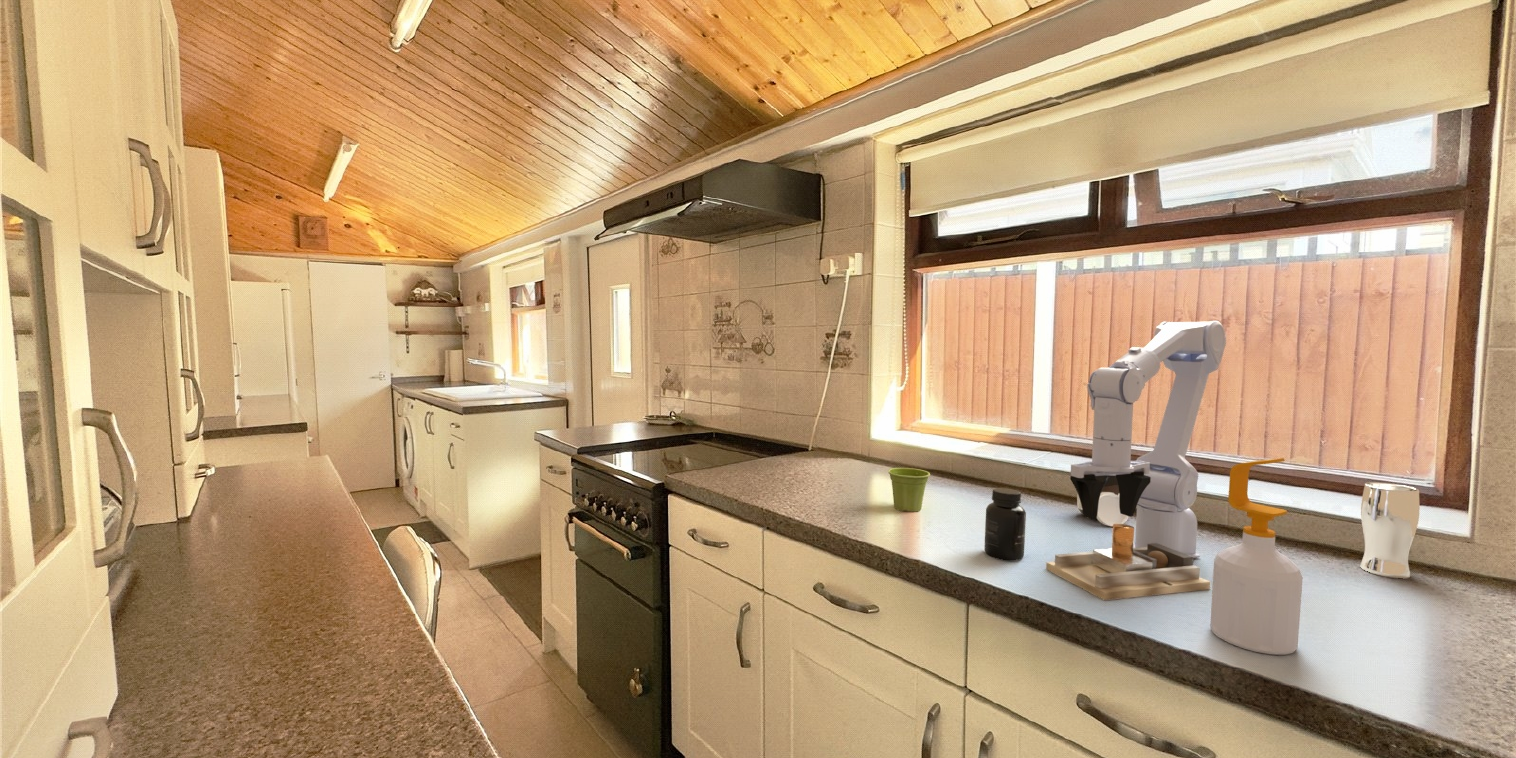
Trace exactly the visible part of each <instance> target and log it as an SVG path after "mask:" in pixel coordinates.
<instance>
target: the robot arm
mask: <svg viewBox="0 0 1516 758" xmlns="http://www.w3.org/2000/svg"><path fill="white" fill-rule="evenodd" d="M1153 335H1154V337H1153V338H1152V339H1151V340H1150V341H1149V342H1148V343H1147V344H1146V345H1145V346H1143V347H1140V346H1139V347H1136V346H1135V347H1134V346H1132V347H1130V348H1129V349H1128V351H1127V352H1126V353H1125V354H1124V355H1122V356H1121V357H1120V358H1118V359H1117V360H1116V361H1114V362H1113V363H1112V364H1111V365H1110V366H1108V367H1098V368H1097V369H1096V370H1094V371H1093V372H1091V374H1090V376H1089V379H1088V383H1087V384H1086V385H1087V386H1086V388H1087V394H1088V395H1089V399H1090V407H1091V410H1093V430H1092V448H1091V449H1092V450H1091V451H1092V453H1091V460H1090V461H1086V462H1081V463H1075V464H1070V477H1069V479H1070V481H1071V483H1072V484H1073V486H1074V488H1075V490H1076V493H1078V495H1079V498H1080V502H1081V505H1082V510H1083V514H1084V515H1083V514H1082V515H1083V517H1084V518H1087V519H1089V520H1091V521H1093V520H1094V521H1097V520H1096V518H1097V514H1098V503H1099V498H1100V494H1101V491H1102V488H1103V486H1104V484H1105V483H1104V482H1102V481H1098V480H1097V478H1095V476H1103V475H1116V478H1117V482H1118V487H1119V508H1120V513H1121V514H1124V515H1127V516H1129V517H1130V518H1132V517H1133V516H1134V514H1135V511H1136V519H1135V522H1136V523H1135V525H1136V526H1135V536H1134V538H1135V540H1134V542H1135V543H1133V548H1141V547H1147V545H1148V544H1151V543H1158V544H1160V545H1163V546H1166V547H1168V548H1171V549H1174V550H1176V551H1179V552H1181V553H1184V554H1187V555H1189V556H1192V557H1193V559H1198V558H1200V557H1201V555H1200V554H1199V553H1197V538H1198V537H1197V536H1198V519H1197V517H1196V514H1195V513H1194V511H1193V510H1192V509H1190V508H1191V507H1192V506H1193V504H1194V503H1195V502H1196V499H1197V495H1198V480H1199V473H1198V471H1197V469H1196V468H1195V467H1194V466H1193V465H1192V463H1190V462H1189V461H1188V460H1187V459H1186V455H1187V452H1188V449H1189V445H1190V442H1191V438H1192V434H1193V432H1194V427H1195V424H1196V421H1197V418H1198V417H1197V416H1198V414H1199V411H1200V407H1201V403H1202V400H1203V397H1204V393H1205V389H1206V385H1207V383H1208V379H1209V375H1210V374H1212V373H1213V372H1215V371H1217V370H1218V369H1219V368H1220V364H1221V362H1222V360H1223V359H1222V358H1223V355H1224V352H1225V350H1226V349H1225V348H1226V344H1227V340H1226V330H1225V328H1224V326H1223V324H1222V323H1221V322H1220V321H1218V320H1211V321H1183V322H1182V321H1181V322H1180V321H1178V322H1177V321H1174V322H1173V321H1171V322H1170V321H1162V322H1161V323H1160V324H1159V325H1157V326H1156V327H1155V330H1154V334H1153ZM1162 362H1163V366H1164V367H1165V368H1167V369H1168V370H1170V371H1172V372H1174V374H1175V377H1174V380H1173V384H1172V385H1171V386H1172V387H1171V391H1170V393H1169V397H1168V400H1167V403H1166V406H1165V410H1164V414H1163V417H1162V421H1161V424H1160V427H1159V430H1158V434H1157V437H1156V441H1155V444H1154V447H1153V450H1152V451H1149V452H1148V453H1145V454H1143V455H1141V456H1139V457H1137V458H1136V460H1131V459H1132V456H1131V455H1132V438H1133V437H1132V435H1133V417H1134V403H1135V402H1138V401H1139V400H1140V398H1141V395H1142V391H1143V390H1144V388H1145V386H1146V383H1147V382H1148V381H1150V380H1151V379H1152V378H1153V377H1154V376H1156V375H1157V374H1158V373H1159V371H1160V369H1161V363H1162ZM1129 517H1128V518H1129Z"/></svg>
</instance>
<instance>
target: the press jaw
mask: <svg viewBox="0 0 1516 758" xmlns="http://www.w3.org/2000/svg"><path fill="white" fill-rule="evenodd" d="M1111 536H1112V539H1111V548H1100V549H1093V550H1092V552H1093V564H1094V565H1096V566H1098V567H1100V568H1103V569H1105V570H1107V571H1109V572H1111V573H1118V572H1129V571H1140V570H1150V569H1156V563H1157V560H1156V559H1154V558H1151V557H1149V556H1147V555H1144V554H1142V553H1139V552H1137V551H1134V550H1133V544H1134V542H1135V540H1134V538H1135V527H1134V526H1133V525H1129V524H1126V523H1124V524H1113V526H1112V535H1111Z"/></svg>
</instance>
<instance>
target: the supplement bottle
mask: <svg viewBox="0 0 1516 758" xmlns="http://www.w3.org/2000/svg"><path fill="white" fill-rule="evenodd" d="M1021 496H1022V492H1020V491H1019V490H1016V489H1012V488H1004V487H999V488H998V487H997V488H993V489H992V495H991V501H993V502H991V503H989V504H988V505H987V506H986V508H985V524H984V526H985V527H984V546H983V547H984V548H983V549H984V553H985V554H986V556H988V557H990V558H993V559H996V560H1000V561H1004V562H1005V561H1008V562H1017V561H1020V560H1022V559H1023V558H1024V556H1025V546H1026V545H1025V544H1026V543H1025V542H1026V540H1025V539H1026V521H1027V512H1026V510H1025V508H1024V507H1023V506H1022V505H1020V504H1021V503H1022V499H1021V498H1022V497H1021Z"/></svg>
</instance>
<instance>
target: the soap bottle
mask: <svg viewBox="0 0 1516 758" xmlns="http://www.w3.org/2000/svg"><path fill="white" fill-rule="evenodd" d="M1281 462H1282V463H1283V462H1285V458H1283V457H1280V458H1273V459H1271V458H1270V459H1264V460H1263V459H1261V460H1254V461H1247V462H1243V463H1242V462H1240V463H1237V464H1235V465H1233V466H1232V467H1231V468H1230V471H1229V484H1228V486H1229V487H1228V504H1229V505H1230V506H1231V507H1232V508H1233V509H1235V510H1239V511H1242V512H1246V517H1247V518H1249V519H1251V525H1246V526H1243V528H1242V530H1243V531H1242V539H1241V540H1242V542H1241V543H1240V544H1237V545H1233V546H1230V547H1227V548H1225V549H1223V550H1221V551H1219V552H1217V554H1216V556H1215V558H1214V559H1213V573H1212V574H1213V575H1212V589H1211V605H1210V606H1211V607H1210V618H1209V619H1210V622H1209V626H1210V630H1211V632H1212V633H1213V634H1215V635H1216V637H1218V638H1220V639H1221V640H1223V641H1225V642H1227V643H1229V644H1231V645H1233V646H1236V647H1238V648H1241V649H1244V650H1247V651H1251V652H1254V653H1255V652H1256V653H1260V654H1266V655H1276V656H1279V655H1280V656H1281V655H1290V654H1293V653H1295V651H1296V650H1297V649H1298V647H1299V633H1300V620H1301V619H1300V617H1301V606H1302V605H1301V603H1302V594H1303V593H1302V591H1303V575H1302V572H1301V569H1300V568H1299V567H1298V565H1297V564H1296V563H1294V561H1292V560H1291V559H1290V558H1289V557H1287V556H1286V555H1284V554H1283V553H1280V552H1279V551H1278V550H1277V549H1276V531H1275V530H1272V529H1270V528H1268V527H1269V522H1272V521H1274V520H1275V519H1274V518H1275V517H1276V518H1277V517H1280V516H1284V515H1287V514H1288V511H1287V509H1282V508H1277V507H1273V506H1267V505H1264V504H1258V503H1254V502H1252V501H1251V500H1250V499H1249V496H1248V490H1249V489H1248V487H1249V485H1248V484H1249V474H1250V471H1251V470H1250V469H1251V468H1252V467H1253V466H1257V465H1259V466H1260V465H1268V464H1275V463H1281Z"/></svg>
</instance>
